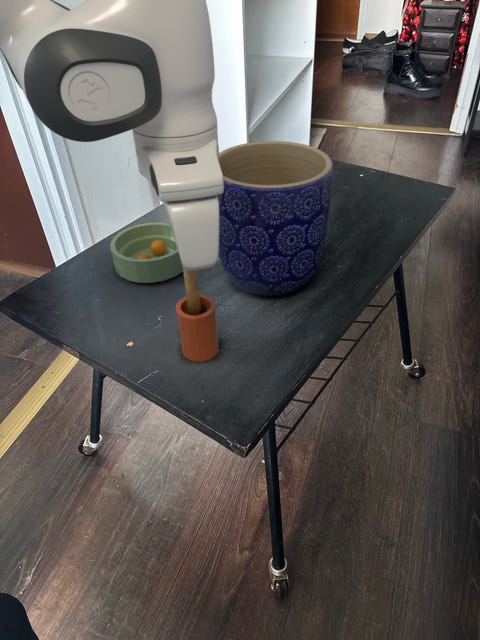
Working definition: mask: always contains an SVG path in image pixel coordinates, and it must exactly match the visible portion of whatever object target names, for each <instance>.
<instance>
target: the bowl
mask: <svg viewBox="0 0 480 640" xmlns="http://www.w3.org/2000/svg"><path fill="white" fill-rule="evenodd" d="M155 240H162V241H164V242H165V244H166V246H167V250H166V252H165V254H163V255H162V256H156V255H154V254H153V253H152V252H151V249H150V246H151V244H152V242H153V241H155ZM109 245H110V252H111V257H112V261H113V266H114V270H115V271H116V273H117V274H118V275H119V276H120V277H121V278H123V279H125V280H126V281H129V282H133V283H140V284H152V283H158V282H164V281H167V280H170V279H173V278H175V277H176V276H178V275H180V274H181V273H184V272H183V266H182V263H181V259H180V256H179V252H178V249H177V246H176V242H175V239H174V236H173V233H172V230H171V226H170V223H169V222H168V223H167V222H145V223H140V224H136V225H132V226H129V227H127V228H125V229H122V230H121V231H119V232H118V233H117V234H116V235H115V236H114V237H112V240H111V241H110V244H109ZM142 253H147V254H149V255H150V256H151V257H152V258H151V259H137V257H138V256H139V255H140V254H142Z"/></svg>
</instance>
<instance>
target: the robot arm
mask: <svg viewBox="0 0 480 640" xmlns="http://www.w3.org/2000/svg"><path fill="white" fill-rule="evenodd" d="M212 36H213V35H212V28H211V20H210V14H209V9H208V4H207V0H84V1H82V2H81V3H79V4H78V5H76V6H75V7H73V8H69V7H67V6H65V5H63V4H61V3H59V2H57V1H55V0H0V52H1V54H2V56H3V59H4V60H5V63H6V64H7V67H8V69H9V71H10V73H11V75H12V77H13V78H14V80H15V83H17V85H18V87H19V88H20V89H21V90H22V92H23V94H24V96H25V99H26V100H27V103H28V104H29V106H30V108H31V110H32V111H33V113H34V114H35V116H36V117H37V118H38V120H39V121H40V122H41V123H42V124H43V125H44V126H45V127H46V128H48V129H49V130H50V131H51V132H53V133H54V134H56V135H58V136H60V137H62V138H64V139H66V140H70V141H73V142H79V143H91V142H99V141H103V140H105V139H108V138H112V137H115V136H118V135H120V134H123V133H126V132H129V131H132V136H133V142H134V149H135V155H136V161H137V167H138V172H139V173H140V175H141V176H143V177H144V178H145V179H146V180H147V181H148V183H149V184H150V185H151V187H153V189H154V191H155V193H156V195H157V197H158V200H159V201H160V202H162V204H163V207H164V210H165V213H166V217H167V220H168V224H170V226H171V230H172V233H173V236H174V239H175V242H176V246H177V249H178V252H179V256H180V259H181V263H182V266H183V268H184V269H185V270H186V271H193V270H198V271H199V270H203V269H210V268H214V267H215V266H216V265H217V263H218V261H219V257H218V255H219V201H218V196H217V195H220V194H223V192H224V179H223V174H222V169H221V166H220V162H219V153H220V147H219V134H218V133H219V132H218V118H217V113H216V110H215V108H214V107H215V106H214V103H213V88H214V83H215V78H216V76H215V75H216V73H215V59H214V58H215V56H214V45H213V37H212Z"/></svg>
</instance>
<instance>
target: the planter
mask: <svg viewBox="0 0 480 640" xmlns="http://www.w3.org/2000/svg"><path fill="white" fill-rule="evenodd" d="M219 162H220V166H221V169H222V174H223V179H224V192H223V194H220V195H217V196H218V201H219V255H218V261H219V264H220V266H221V268H222V270H223V272H224V273H225V274H226V276H227V277H228V278H229V280H230V281H231V282H232V283H233V284H235V285H236V286H237V287H238V288H240V289H242V290H244V291H246V292H248V293H251V294H253V295H258V296H265V297H266V296H267V297H268V296H269V297H270V296H271V297H273V296H282V295H286V294H290V293H292V292H294V291H296V290H298V289H300V288H301V287H303V286H304V285H305V284H306V283H307V282H308V281H309V280H310V279H311V278H312V277H313V276H314V274H315V273H316V271H317V269H319V266H320V263H321V260H322V257H323V254H324V248H325V243H326V237H327V232H328V223H329V217H330V216H329V215H330V206H331V197H332V196H331V195H332V184H333V170H334V169H333V167H334V166H333V161H332V158H331V157H330V156H329V155H328V154H327V153H326V152H324V151H322V150H320V149H319V148H317V147H314V146H311V145H308V144H304V143H300V142H294V141H285V140H284V141H283V140H264V141H252V142H247V143H240V144H237V145H234V146H230V147H228V148H226V149H224V150H222V151H219Z"/></svg>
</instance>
